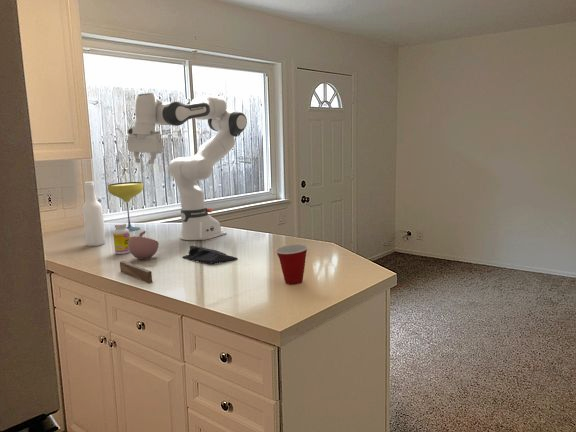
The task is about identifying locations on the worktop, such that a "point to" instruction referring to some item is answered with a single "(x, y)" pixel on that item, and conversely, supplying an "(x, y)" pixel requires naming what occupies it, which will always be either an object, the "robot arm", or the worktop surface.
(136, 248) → the mortar and pestle
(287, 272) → the plastic cup
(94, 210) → the alcohol
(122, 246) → the supplement bottle
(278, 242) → the worktop surface
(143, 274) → the brown wooden bar
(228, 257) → the dark slate chunk
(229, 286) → the worktop surface
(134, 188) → the cocktail glass
